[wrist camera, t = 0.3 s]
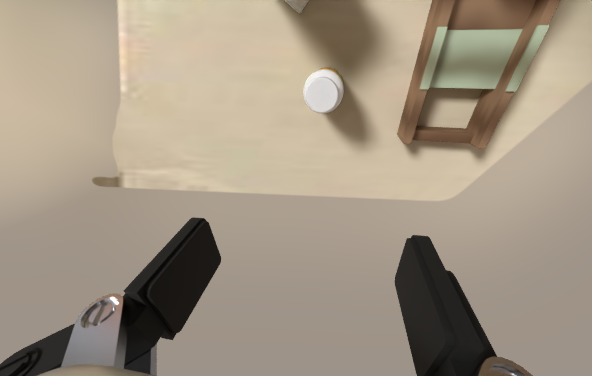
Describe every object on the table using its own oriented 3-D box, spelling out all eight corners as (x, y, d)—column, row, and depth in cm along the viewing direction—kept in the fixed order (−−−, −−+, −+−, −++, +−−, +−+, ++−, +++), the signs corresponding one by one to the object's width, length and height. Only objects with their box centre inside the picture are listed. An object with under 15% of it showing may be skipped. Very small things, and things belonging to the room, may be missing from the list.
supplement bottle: (350, 82, 33) (353, 91, 25) (328, 111, 35) (324, 127, 27) (323, 59, 32) (318, 59, 24) (302, 90, 34) (291, 100, 26)
